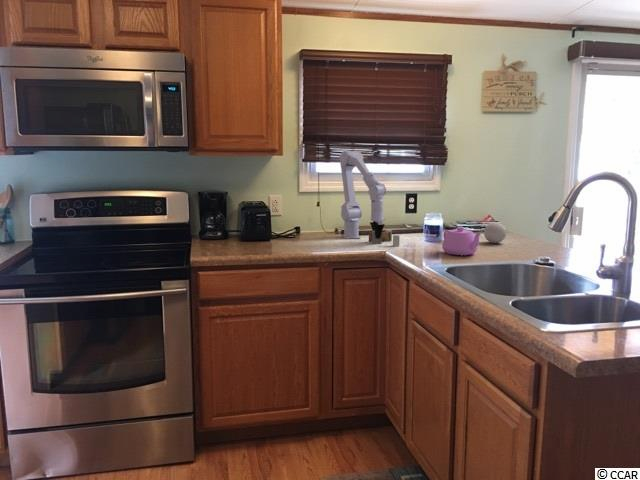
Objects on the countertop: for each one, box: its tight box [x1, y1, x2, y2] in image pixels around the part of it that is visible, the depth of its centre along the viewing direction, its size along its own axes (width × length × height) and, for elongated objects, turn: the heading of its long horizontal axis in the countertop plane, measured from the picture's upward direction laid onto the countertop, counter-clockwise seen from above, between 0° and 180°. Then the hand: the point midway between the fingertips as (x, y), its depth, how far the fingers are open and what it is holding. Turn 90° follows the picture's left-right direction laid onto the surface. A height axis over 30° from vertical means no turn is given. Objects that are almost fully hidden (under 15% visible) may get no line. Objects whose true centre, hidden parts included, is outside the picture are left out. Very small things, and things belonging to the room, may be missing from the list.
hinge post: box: [385, 229, 393, 242], centre depth 253 cm, size 2×2×5 cm
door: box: [368, 231, 392, 243], centre depth 250 cm, size 11×1×4 cm, turn 99°
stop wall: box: [392, 234, 400, 247], centre depth 239 cm, size 2×2×5 cm
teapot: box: [442, 226, 484, 256], centre depth 219 cm, size 20×13×12 cm, turn 39°
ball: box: [483, 221, 507, 244], centre depth 243 cm, size 10×10×10 cm
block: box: [371, 230, 383, 245], centre depth 246 cm, size 4×4×6 cm
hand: (377, 237), depth 246 cm, fingers open, 5 cm apart
